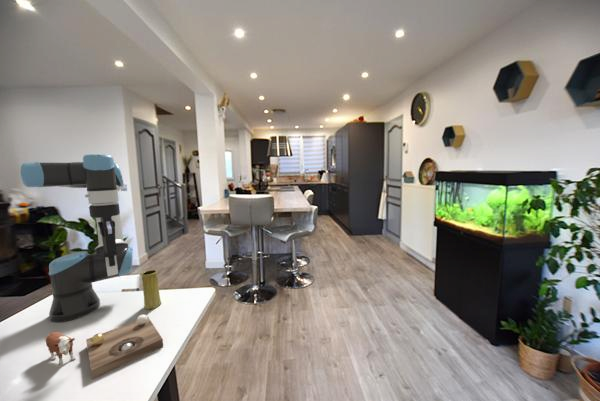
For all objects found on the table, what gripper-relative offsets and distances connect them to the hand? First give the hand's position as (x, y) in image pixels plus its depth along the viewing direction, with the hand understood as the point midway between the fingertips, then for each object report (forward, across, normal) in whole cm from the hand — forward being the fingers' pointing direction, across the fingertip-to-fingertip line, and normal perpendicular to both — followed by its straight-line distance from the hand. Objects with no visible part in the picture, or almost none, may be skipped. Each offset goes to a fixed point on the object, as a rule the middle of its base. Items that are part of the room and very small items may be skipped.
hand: (112, 274), depth 81 cm
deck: (+21, +9, 0) cm, 23 cm away
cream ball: (+17, +4, +6) cm, 18 cm away
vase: (+22, -13, +13) cm, 28 cm away
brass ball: (+17, +6, -6) cm, 19 cm away
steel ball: (+19, +14, 0) cm, 24 cm away
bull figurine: (+21, +2, -14) cm, 26 cm away
